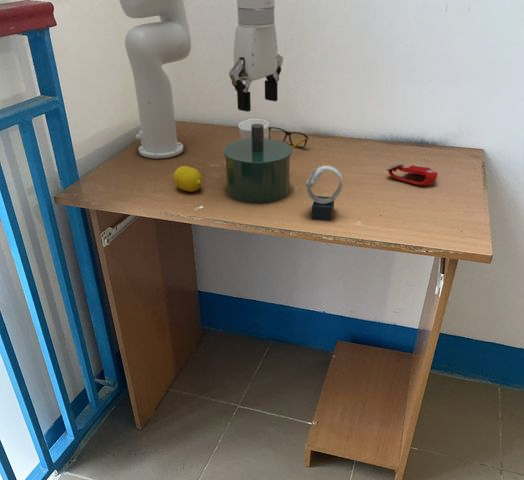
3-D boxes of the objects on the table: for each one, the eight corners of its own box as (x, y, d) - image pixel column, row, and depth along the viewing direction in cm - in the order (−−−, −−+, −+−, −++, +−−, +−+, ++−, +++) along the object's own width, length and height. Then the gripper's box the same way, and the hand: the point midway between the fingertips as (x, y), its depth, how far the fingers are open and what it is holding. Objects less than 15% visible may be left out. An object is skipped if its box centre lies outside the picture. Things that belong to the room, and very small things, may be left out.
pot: (215, 192, 137) (212, 154, 131) (253, 173, 146) (252, 136, 140) (263, 208, 130) (263, 168, 124) (300, 187, 139) (302, 149, 133)
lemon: (168, 189, 139) (165, 167, 136) (184, 182, 143) (182, 160, 139) (193, 198, 135) (191, 175, 131) (209, 190, 138) (207, 168, 135)
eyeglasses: (309, 148, 160) (310, 134, 158) (281, 164, 151) (281, 149, 149) (268, 139, 167) (268, 125, 164) (239, 153, 158) (238, 139, 155)
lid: (209, 157, 131) (207, 128, 127) (252, 138, 141) (251, 110, 137) (264, 172, 124) (263, 142, 120) (305, 151, 134) (306, 123, 129)
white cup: (267, 168, 149) (265, 130, 142) (238, 167, 150) (235, 129, 144) (272, 155, 155) (271, 119, 148) (244, 154, 156) (242, 118, 149)
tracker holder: (424, 165, 147) (448, 169, 138) (420, 183, 148) (443, 188, 140) (384, 160, 142) (406, 164, 134) (381, 178, 144) (402, 183, 135)
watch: (306, 207, 130) (308, 161, 123) (341, 210, 129) (345, 163, 122) (302, 218, 126) (304, 170, 119) (338, 221, 125) (342, 173, 118)
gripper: (267, 10, 122) (268, 94, 133) (214, 21, 111) (219, 111, 122) (295, 13, 118) (294, 99, 129) (243, 25, 108) (246, 117, 118)
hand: (258, 105), depth 125 cm, fingers open, 9 cm apart
